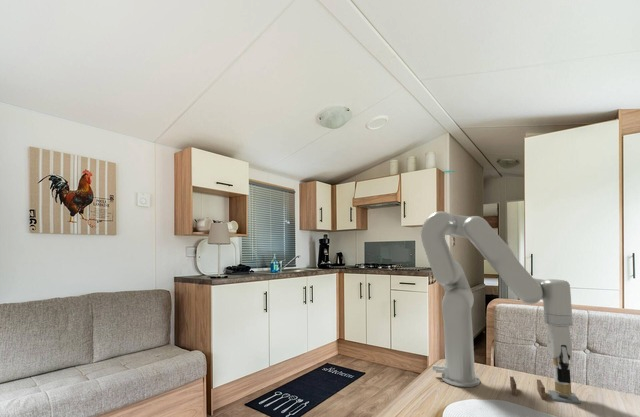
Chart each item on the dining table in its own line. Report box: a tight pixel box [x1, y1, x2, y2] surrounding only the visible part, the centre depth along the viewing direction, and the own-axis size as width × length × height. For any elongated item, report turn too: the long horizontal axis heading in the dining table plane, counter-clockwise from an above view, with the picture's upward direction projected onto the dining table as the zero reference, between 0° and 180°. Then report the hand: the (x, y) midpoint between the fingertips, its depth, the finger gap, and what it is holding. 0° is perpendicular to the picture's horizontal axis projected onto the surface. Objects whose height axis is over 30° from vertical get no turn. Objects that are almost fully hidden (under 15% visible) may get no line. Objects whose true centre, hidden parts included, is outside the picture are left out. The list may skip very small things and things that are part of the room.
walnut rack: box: [509, 376, 547, 401], centre depth 115 cm, size 9×7×4 cm
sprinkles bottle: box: [552, 355, 573, 396], centre depth 112 cm, size 5×5×14 cm
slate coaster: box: [547, 389, 582, 405], centre depth 111 cm, size 7×7×1 cm
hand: (562, 378), depth 112 cm, fingers closed on sprinkles bottle, 4 cm apart
